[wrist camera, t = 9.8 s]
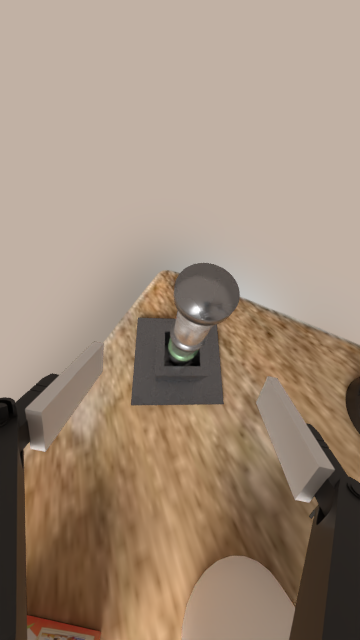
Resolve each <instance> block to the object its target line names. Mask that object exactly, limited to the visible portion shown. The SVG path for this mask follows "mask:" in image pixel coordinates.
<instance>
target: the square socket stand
mask: <svg viewBox="0 0 360 640" xmlns="http://www.w3.org/2000/svg"><path fill="white" fill-rule="evenodd" d="M174 320H175V319H163V318H138V325H137V337H136V350H135V362H134V374H133V387H132V399H131V405H193V404H224V403H223V391H222V380H221V368H220V357H219V345H218V333H217V324H216V325H213V327H212V328H211V330H210V331H209V332H208V339H207V341H206V343H205V344H204V345H203V346H202V347H201V348H200V349H199V350H198V352H197V354H196V355H195V356H194V358H193V359H192V360H191V361H190V362H189V363H187V364H185V365H178V364H175V363H174V362H172V361H171V360H170V358H169V356H168V343H169V340H170V329H171V325H172V323H173V322H174Z"/></svg>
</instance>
